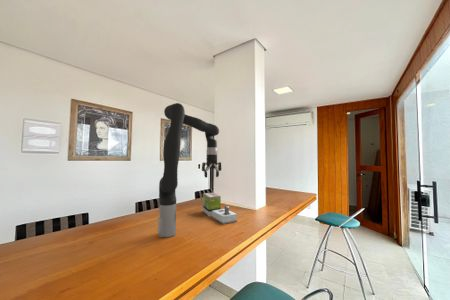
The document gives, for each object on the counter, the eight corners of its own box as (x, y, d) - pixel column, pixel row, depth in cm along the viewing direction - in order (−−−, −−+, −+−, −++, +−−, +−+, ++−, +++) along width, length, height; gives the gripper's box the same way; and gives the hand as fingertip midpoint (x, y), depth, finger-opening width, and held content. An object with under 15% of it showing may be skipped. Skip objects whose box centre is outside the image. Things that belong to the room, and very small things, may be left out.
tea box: (202, 211, 152) (202, 193, 152) (213, 210, 156) (213, 192, 156) (208, 216, 138) (208, 196, 139) (221, 215, 142) (221, 195, 143)
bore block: (223, 224, 122) (223, 216, 122) (212, 217, 136) (212, 210, 136) (236, 221, 128) (236, 214, 128) (224, 215, 142) (224, 208, 142)
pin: (225, 220, 126) (225, 207, 127) (223, 219, 129) (223, 206, 129) (229, 219, 128) (229, 206, 128) (227, 218, 130) (227, 205, 131)
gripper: (204, 153, 124) (204, 178, 123) (223, 154, 131) (223, 177, 131) (200, 154, 131) (200, 177, 130) (218, 154, 138) (218, 176, 137)
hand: (211, 177), depth 130 cm, fingers open, 8 cm apart
